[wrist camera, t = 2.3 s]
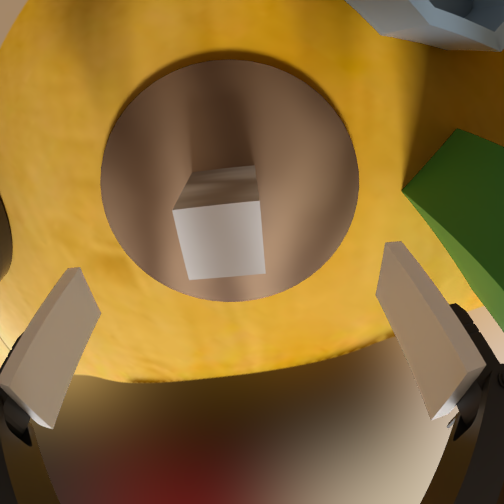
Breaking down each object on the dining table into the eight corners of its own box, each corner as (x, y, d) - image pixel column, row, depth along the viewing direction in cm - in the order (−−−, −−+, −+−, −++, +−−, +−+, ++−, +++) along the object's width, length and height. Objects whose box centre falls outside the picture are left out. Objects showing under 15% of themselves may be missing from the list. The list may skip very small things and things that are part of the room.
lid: (142, 298, 25) (120, 361, 19) (86, 92, 16) (22, 105, 10) (345, 281, 25) (371, 343, 19) (351, 58, 15) (405, 49, 9)
